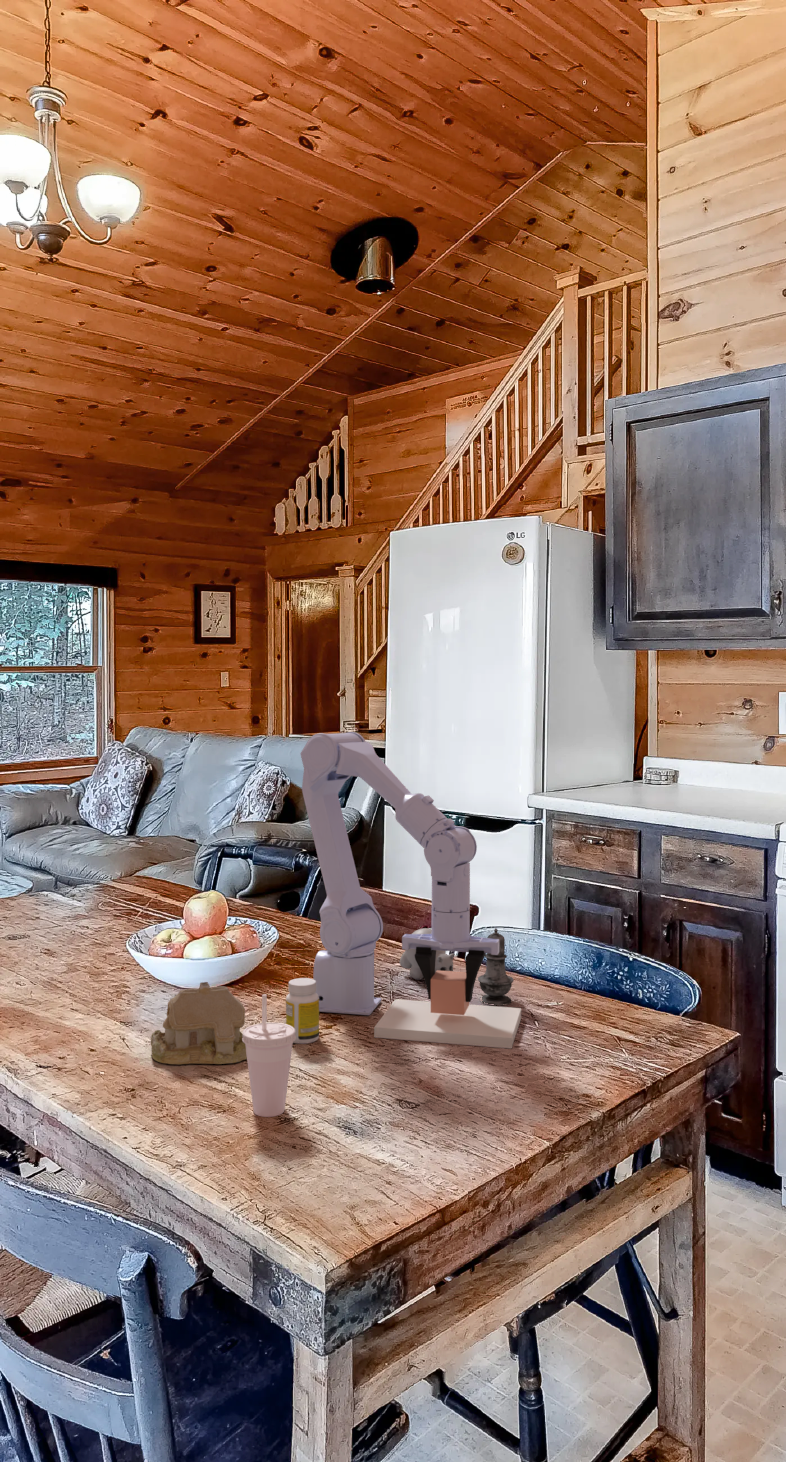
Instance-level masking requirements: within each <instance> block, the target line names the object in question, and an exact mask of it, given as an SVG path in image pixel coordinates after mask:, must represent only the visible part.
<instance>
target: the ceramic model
mask: <svg viewBox="0 0 786 1462" xmlns="http://www.w3.org/2000/svg"><path fill="white" fill-rule="evenodd" d="M166 1010H167V1011H166V1018H165V1020H164V1021H163V1023H162V1028H164V1032H162V1031H161V1030H160V1029H155V1031H154V1032H152V1033H151V1034H150V1035H151V1036H150V1046H151V1050H150V1051H151V1057H152V1058H151V1059H153V1060H154V1061H155V1062H158V1063H160V1064H161V1063H162V1064H168V1065H188V1064H203V1065H204V1064H206V1065H207V1064H209V1065H210V1064H211V1065H213V1064H215V1065H222V1064H223V1065H225V1064H235V1063H240V1062H242V1061H245V1060H247V1055H246V1046H245V1043H244V1042H243V1041H242V1038H243V1032H242V1031H241V1028H243V1027H244V1026H245V1024H246V1022H245V1020H246V1019H245V1017H246V1016H245V1015H246V1014H245V1013H246V1012H245V1010H246V1009H245V1007H244V1005H243V1003H242V1002H241V1000H239V999H238V998H237V997H236V996H234V994H233V993H232V992H231V991H230V990H229V988H228V987H227V986H212V987H211V986H210V984H209V983H208V982H207V981H204V982H203V981H202V982H201V981H200V983H199V988H186V989H183V990H182V989H180V990H179V991H178V993H177V994H176V995H175V996H174V997H173V998H170V999H169V1000H168V1002H167V1009H166Z"/></svg>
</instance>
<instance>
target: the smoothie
mask: <svg viewBox="0 0 786 1462" xmlns="http://www.w3.org/2000/svg"><path fill="white" fill-rule="evenodd" d="M267 997H268V996H267V994H265V993H264V994H262V995H261V1023H256V1024H252V1025H249V1026H247V1027H245V1029H243V1030H242V1034H243V1038H242V1041H243V1042H244V1043H245V1046H246V1055H247V1059H246V1061H247V1070H248V1077H249V1086H250V1092H251V1093H250V1094H251V1102H252V1109H253V1114H255V1115H256V1116H259V1117H265V1118H269V1117H276V1116H280V1115H282V1114H283V1113H284V1112H285V1108H286V1101H287V1092H288V1085H289V1076H290V1067H291V1060H292V1053H293V1044H294V1043H293V1041H295V1039H296V1036H295V1029H294V1028H293V1027H292V1026H290V1025H288V1024H286V1023H282V1022H268V1021H267V1020H268V1019H267V1018H268V1014H267V1013H268V1011H267V1010H268V1007H267V1006H268V1001H267V999H268V998H267Z"/></svg>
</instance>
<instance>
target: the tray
mask: <svg viewBox="0 0 786 1462" xmlns="http://www.w3.org/2000/svg"><path fill="white" fill-rule="evenodd" d="M521 1019H522V1008H521V1007H510V1006H509V1007H507V1006H496V1005H481V1004H479V1005H478V1004H469V1006H468V1008H467V1010H466V1012H465V1014H464V1015H456V1014H442V1013H431V1001H423V1000H412V999H411V1000H410V999H398V998H396V999H395V1000H394V1001H393V1002H392V1003H391V1005H390V1006H389V1007H388V1008H387V1010H386V1011H385V1012H384V1014H383V1015H382V1017H381V1018H380V1019H379V1020H378V1022H377V1023H376V1024H375V1026H374V1029H373V1031H374V1032H373V1033H374V1035H373V1036H374V1037H373V1038H378V1039H379V1038H380V1039H392V1040H402V1041H413V1042H414V1041H416V1042H426V1043H439V1044H452V1045H463V1046H464V1045H465V1046H475V1047H476V1046H477V1047H489V1048H499V1049H501V1048H502V1049H512V1047H513V1045H514V1042H515V1039H516V1035H517V1033H518V1029H519V1026H520V1023H521Z"/></svg>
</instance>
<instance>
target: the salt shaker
mask: <svg viewBox="0 0 786 1462" xmlns="http://www.w3.org/2000/svg"><path fill="white" fill-rule="evenodd" d="M493 931H494V932H493V933H491V934H489V935H488V936H487V937H486V938H490V939H499V954H498V955H491V953H486V955H485V957H484V958H486V968H485V973H484V974H481V975H480V976H477V981H478V982H479V987H480V990H481V991H482V992H483V993H484V995H482V996H481V997H482V1000H483V1001H482V1002H485V1003H488V1004H494V1005H493V1006H496V1005H499V1006H504V1005H503V1004H507V1005H510V1004H512V1002H511V1001H512V998H511V997H509V996H508V995H507V994H508V993H509V992H510V990H511V989H512V986H513V985H512V984H513V982H514V981H515V980H514V978H513V977H511V976H509V975H508V974H507V972H506V958H507V957H508V955H506V954H505V951H506V950H505V948H506V947H505V945H506V944H505V943H506V941H505V937H504V936H503V934H501V933H499V932H498V931H499V930H498V928H497V927H495V928H494V930H493ZM509 1003H510V1004H509Z"/></svg>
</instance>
